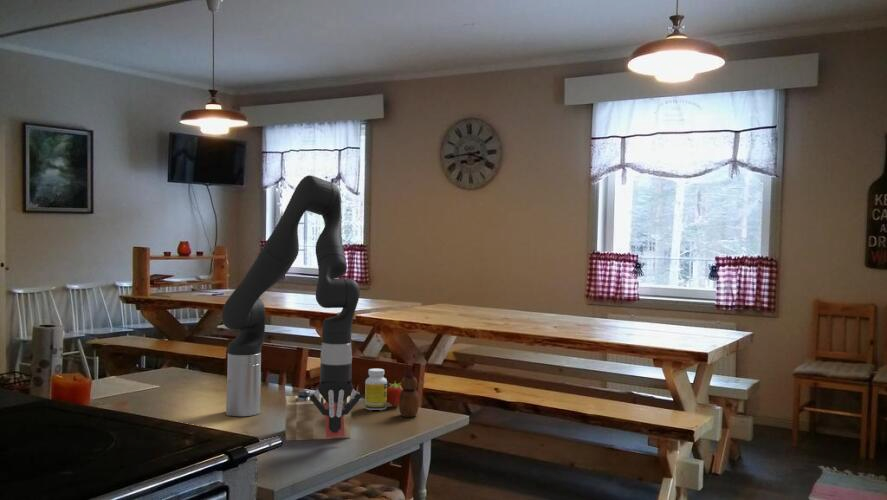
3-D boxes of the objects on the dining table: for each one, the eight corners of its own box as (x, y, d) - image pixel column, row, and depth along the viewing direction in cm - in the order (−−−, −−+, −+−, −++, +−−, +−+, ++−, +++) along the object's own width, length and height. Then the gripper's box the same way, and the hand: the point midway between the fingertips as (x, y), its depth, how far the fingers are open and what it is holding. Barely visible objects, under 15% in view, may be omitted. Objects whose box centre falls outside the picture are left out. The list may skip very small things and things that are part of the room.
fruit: (396, 409, 226) (396, 382, 226) (382, 407, 228) (382, 380, 228) (406, 406, 230) (407, 379, 230) (392, 403, 233) (393, 377, 233)
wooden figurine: (398, 413, 221) (399, 361, 221) (418, 413, 222) (419, 361, 221) (398, 418, 215) (399, 365, 214) (419, 418, 215) (420, 365, 215)
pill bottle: (383, 412, 222) (384, 372, 222) (362, 410, 223) (362, 371, 223) (389, 407, 229) (390, 368, 228) (368, 405, 230) (369, 367, 230)
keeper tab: (326, 437, 186) (326, 436, 185) (324, 400, 192) (324, 398, 191) (344, 436, 187) (344, 435, 186) (342, 399, 193) (342, 397, 192)
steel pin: (297, 436, 193) (298, 392, 193) (297, 433, 196) (297, 390, 196) (310, 435, 194) (310, 392, 194) (309, 432, 197) (309, 389, 197)
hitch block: (286, 442, 188) (287, 399, 188) (285, 430, 199) (285, 389, 199) (351, 439, 192) (352, 397, 192) (346, 427, 203) (347, 388, 203)
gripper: (361, 358, 190) (359, 427, 191) (307, 358, 187) (306, 428, 188) (365, 363, 183) (363, 434, 183) (309, 363, 180) (307, 436, 180)
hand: (334, 431), depth 185 cm, fingers closed
